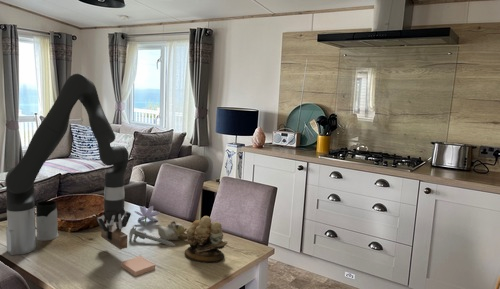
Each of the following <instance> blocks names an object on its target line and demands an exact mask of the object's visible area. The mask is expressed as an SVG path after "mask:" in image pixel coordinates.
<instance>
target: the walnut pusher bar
mask: <svg viewBox="0 0 500 289" xmlns="http://www.w3.org/2000/svg"><path fill="white" fill-rule="evenodd" d="M104 224H105V226H106V223H104ZM111 232H112V240H111V241H109V240H108V239H107V238H106V231H104V230H102V229H101V231H100V236H101V237H102V239H104V240H106V242H108V243H110V244H111V245H113V247H116V248H117V249H118V250H124V249H127V248H128V234H126V233H124V231H122V230H121V231H120V230H118V229H117V227H115V226H114V225H113V226H112V231H111Z"/></svg>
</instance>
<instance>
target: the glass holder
mask: <svg viewBox="0 0 500 289" xmlns="http://www.w3.org/2000/svg"><path fill="white" fill-rule="evenodd" d="M35 204H36V207H35V208H36V213H35V224H36V226H35V231H36V241H42V242H44V241H51V240H55V239H56V238H58V237H59V236H60V235H59V233H58V208H57V201H55V200H42V201H38V202H37V203H35Z"/></svg>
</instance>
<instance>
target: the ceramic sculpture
mask: <svg viewBox="0 0 500 289" xmlns="http://www.w3.org/2000/svg"><path fill="white" fill-rule="evenodd" d="M157 228H158V229H157V231H158V236H159V238H161V239H164V240H167V241H171V240H172V241H179V240H182V241H187V229H188V228H185V227H184V226H183V224H181V222H176V221H175V220H174V221H170V222H169V223H168V225H167V226H162V225H158V226H157ZM185 232H186V233H185Z"/></svg>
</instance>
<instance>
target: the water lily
mask: <svg viewBox="0 0 500 289" xmlns="http://www.w3.org/2000/svg"><path fill="white" fill-rule="evenodd" d="M138 206H139V211H140V212H139V211H134V213H135V214H136V215H139V216H140V217H138V219H137V221H139V220H140V221H144V225H145V227H146V224H147V222H146V221H147V220H150V221H152V222H153V221H154V222H158V221H159V220H158V218H156V216H159V215H161V211H157V210H154V205H150V206H149V207H148V208H147V207H146V206H145V205H143V206H141V205H138ZM154 217H155V218H154ZM140 221H139V222H140ZM144 225H143V226H144Z"/></svg>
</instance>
